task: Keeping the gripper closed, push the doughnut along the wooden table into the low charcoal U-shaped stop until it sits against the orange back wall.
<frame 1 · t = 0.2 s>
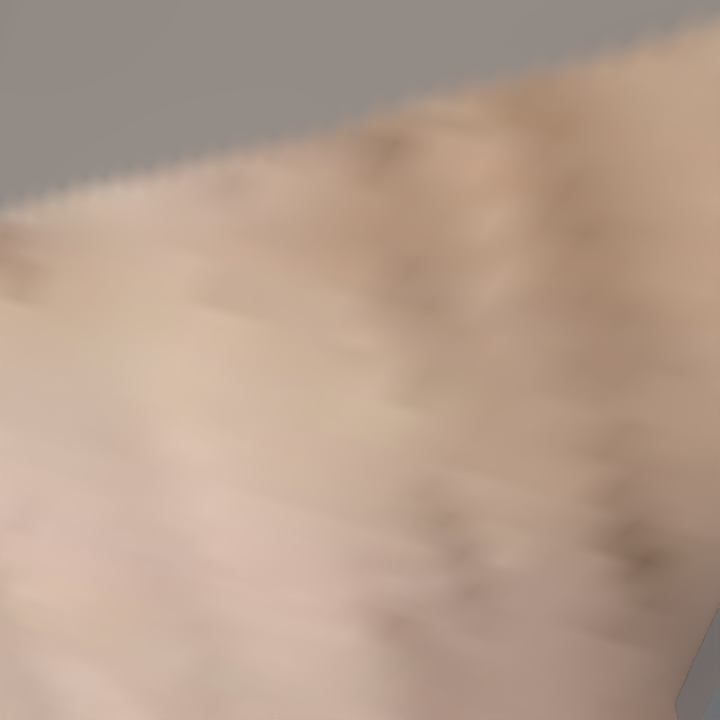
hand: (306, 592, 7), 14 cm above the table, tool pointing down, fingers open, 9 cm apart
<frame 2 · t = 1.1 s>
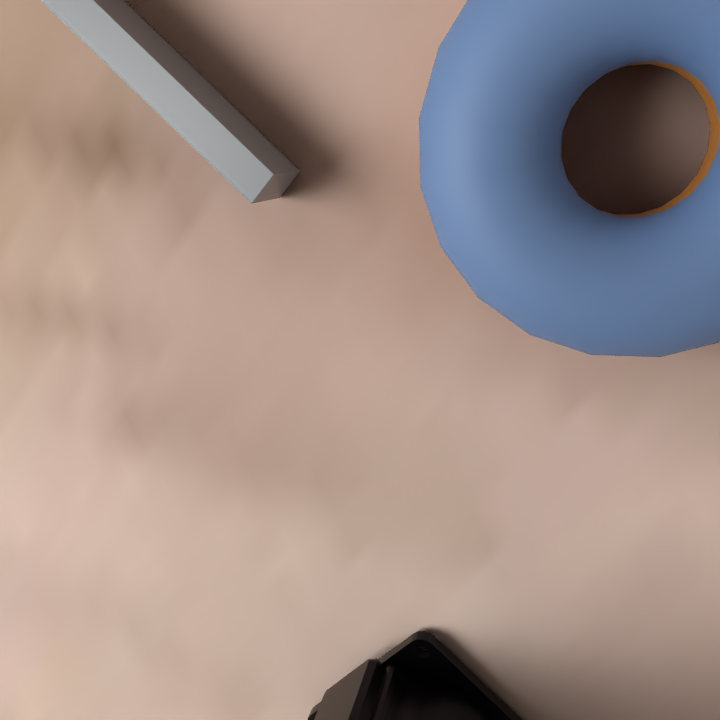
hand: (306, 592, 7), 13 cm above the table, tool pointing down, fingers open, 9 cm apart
doughnut: (625, 141, 17), on the table
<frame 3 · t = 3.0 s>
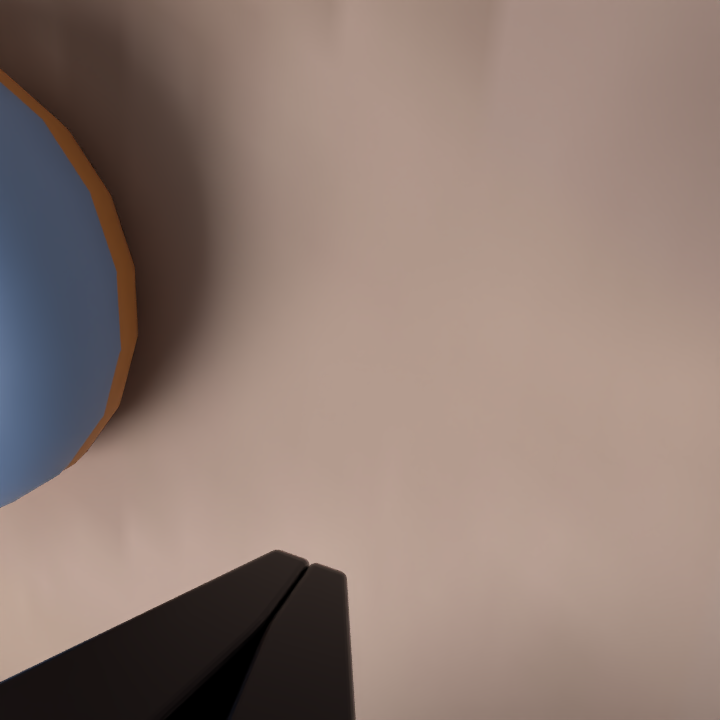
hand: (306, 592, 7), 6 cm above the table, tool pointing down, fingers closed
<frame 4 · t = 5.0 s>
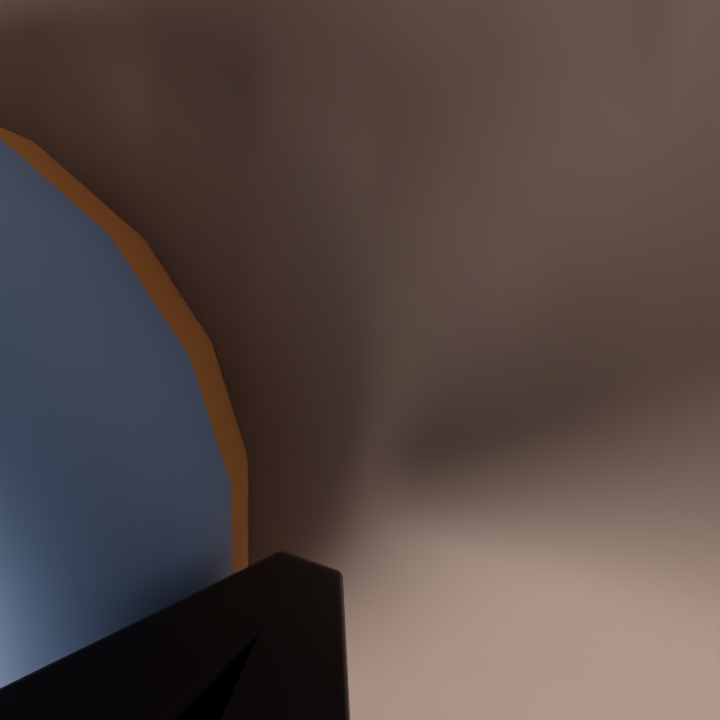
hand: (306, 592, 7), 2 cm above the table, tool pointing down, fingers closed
doughnut: (3, 423, 11), on the table, touching gripper
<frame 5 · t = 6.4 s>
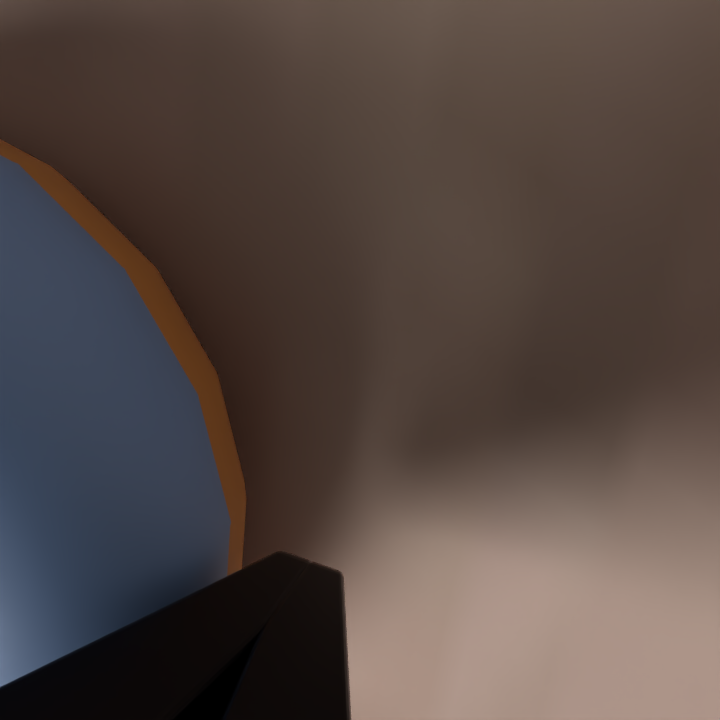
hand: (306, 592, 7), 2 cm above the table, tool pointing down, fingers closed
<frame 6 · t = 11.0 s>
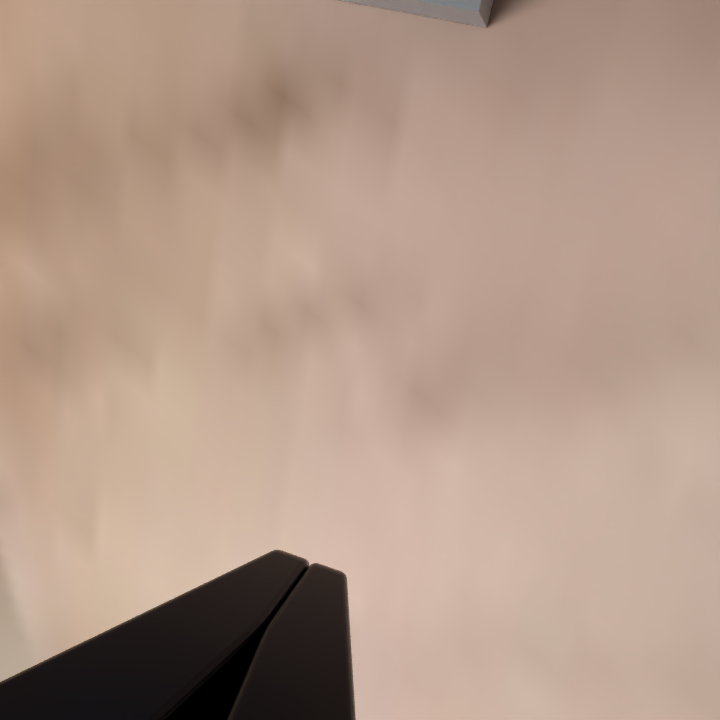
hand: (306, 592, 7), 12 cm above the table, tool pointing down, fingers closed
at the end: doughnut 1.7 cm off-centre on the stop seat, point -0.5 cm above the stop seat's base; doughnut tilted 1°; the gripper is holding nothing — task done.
